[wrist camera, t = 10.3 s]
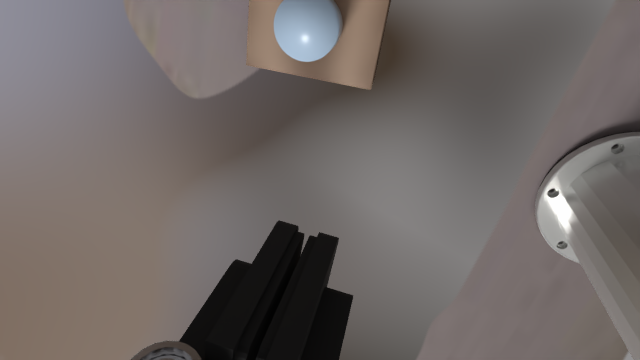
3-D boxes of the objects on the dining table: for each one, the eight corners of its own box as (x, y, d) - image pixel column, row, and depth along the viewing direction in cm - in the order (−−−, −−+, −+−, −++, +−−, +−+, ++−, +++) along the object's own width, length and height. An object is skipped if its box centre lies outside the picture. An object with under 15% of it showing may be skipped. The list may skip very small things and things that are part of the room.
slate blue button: (347, -5, 27) (342, -2, 25) (337, 61, 29) (332, 67, 27) (285, -15, 27) (276, -14, 26) (279, 50, 29) (271, 55, 28)
